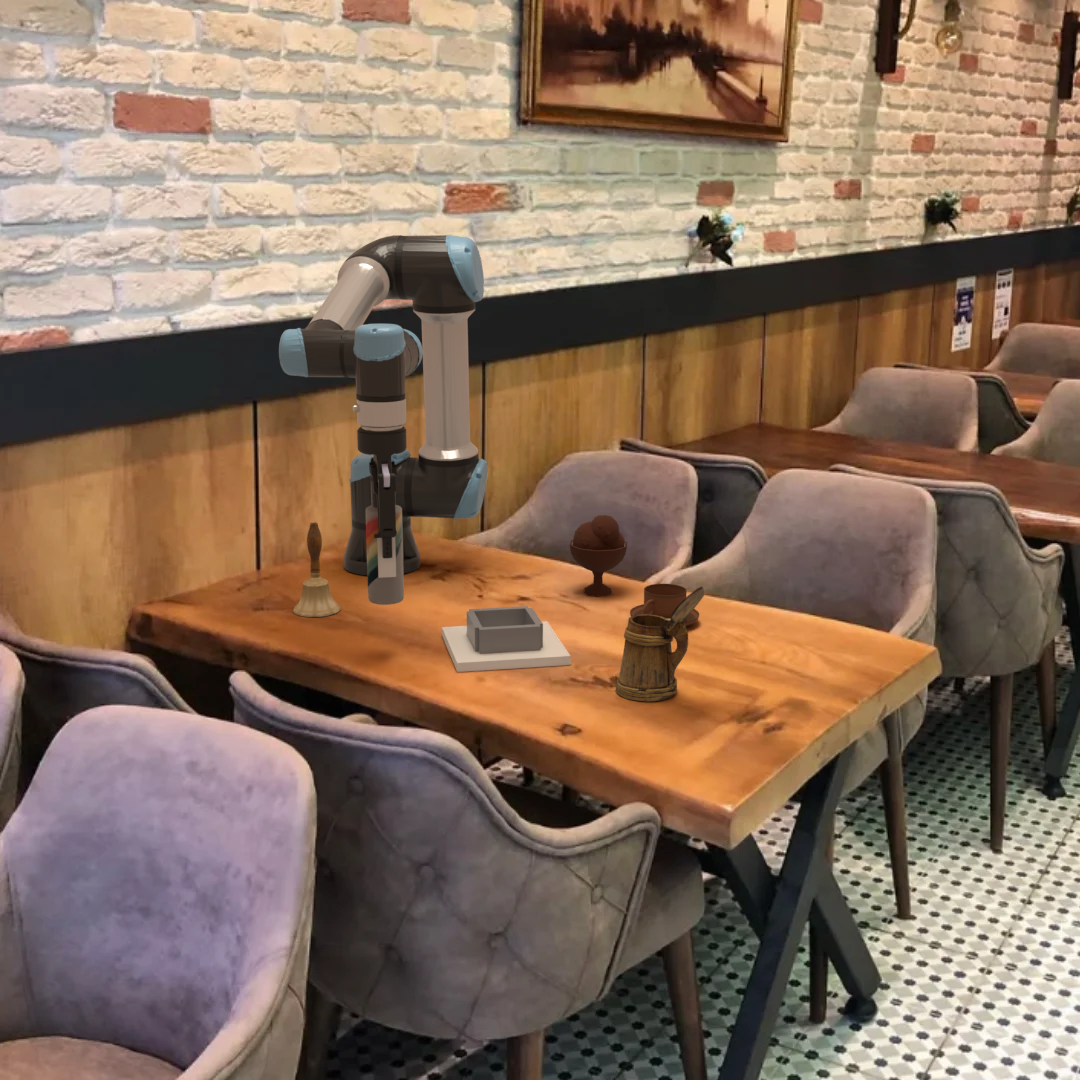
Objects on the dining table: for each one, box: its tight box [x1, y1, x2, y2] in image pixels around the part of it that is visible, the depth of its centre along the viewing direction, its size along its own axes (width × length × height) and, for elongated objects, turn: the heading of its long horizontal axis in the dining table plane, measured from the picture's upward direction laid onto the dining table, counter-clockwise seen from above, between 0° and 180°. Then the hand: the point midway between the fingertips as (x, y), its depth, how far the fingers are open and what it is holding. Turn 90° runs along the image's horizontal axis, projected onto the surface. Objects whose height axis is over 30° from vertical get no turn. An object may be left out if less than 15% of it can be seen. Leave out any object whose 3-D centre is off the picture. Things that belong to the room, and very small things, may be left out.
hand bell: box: [293, 522, 341, 618], centre depth 232 cm, size 8×8×16 cm
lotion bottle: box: [366, 480, 405, 606], centre depth 207 cm, size 6×6×20 cm
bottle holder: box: [441, 605, 572, 673], centre depth 214 cm, size 18×18×6 cm
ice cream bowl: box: [569, 514, 629, 597], centre depth 245 cm, size 11×11×15 cm
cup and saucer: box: [629, 583, 700, 627], centre depth 228 cm, size 12×12×6 cm
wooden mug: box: [614, 586, 705, 703], centre depth 193 cm, size 9×14×18 cm, turn 52°
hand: (385, 570), depth 208 cm, fingers closed on lotion bottle, 6 cm apart
